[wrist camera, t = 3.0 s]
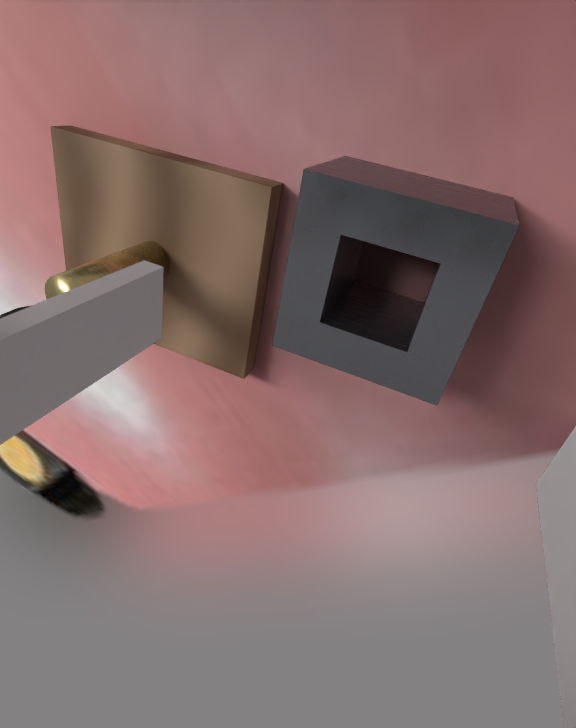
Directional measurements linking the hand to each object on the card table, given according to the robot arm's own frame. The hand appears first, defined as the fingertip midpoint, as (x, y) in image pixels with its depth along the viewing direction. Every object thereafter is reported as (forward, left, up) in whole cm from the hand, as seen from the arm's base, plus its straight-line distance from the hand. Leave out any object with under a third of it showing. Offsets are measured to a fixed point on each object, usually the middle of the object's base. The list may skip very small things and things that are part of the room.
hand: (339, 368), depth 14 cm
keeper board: (-14, -4, -12) cm, 19 cm away
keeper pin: (-14, -4, -10) cm, 18 cm away
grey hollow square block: (0, 0, -12) cm, 12 cm away
